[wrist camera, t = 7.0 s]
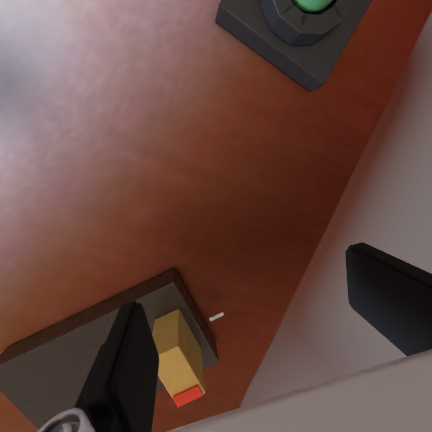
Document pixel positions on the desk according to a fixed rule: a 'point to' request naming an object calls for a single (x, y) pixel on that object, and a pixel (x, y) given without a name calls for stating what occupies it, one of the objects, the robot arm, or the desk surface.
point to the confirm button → (312, 4)
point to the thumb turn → (178, 358)
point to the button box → (294, 33)
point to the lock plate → (89, 347)
